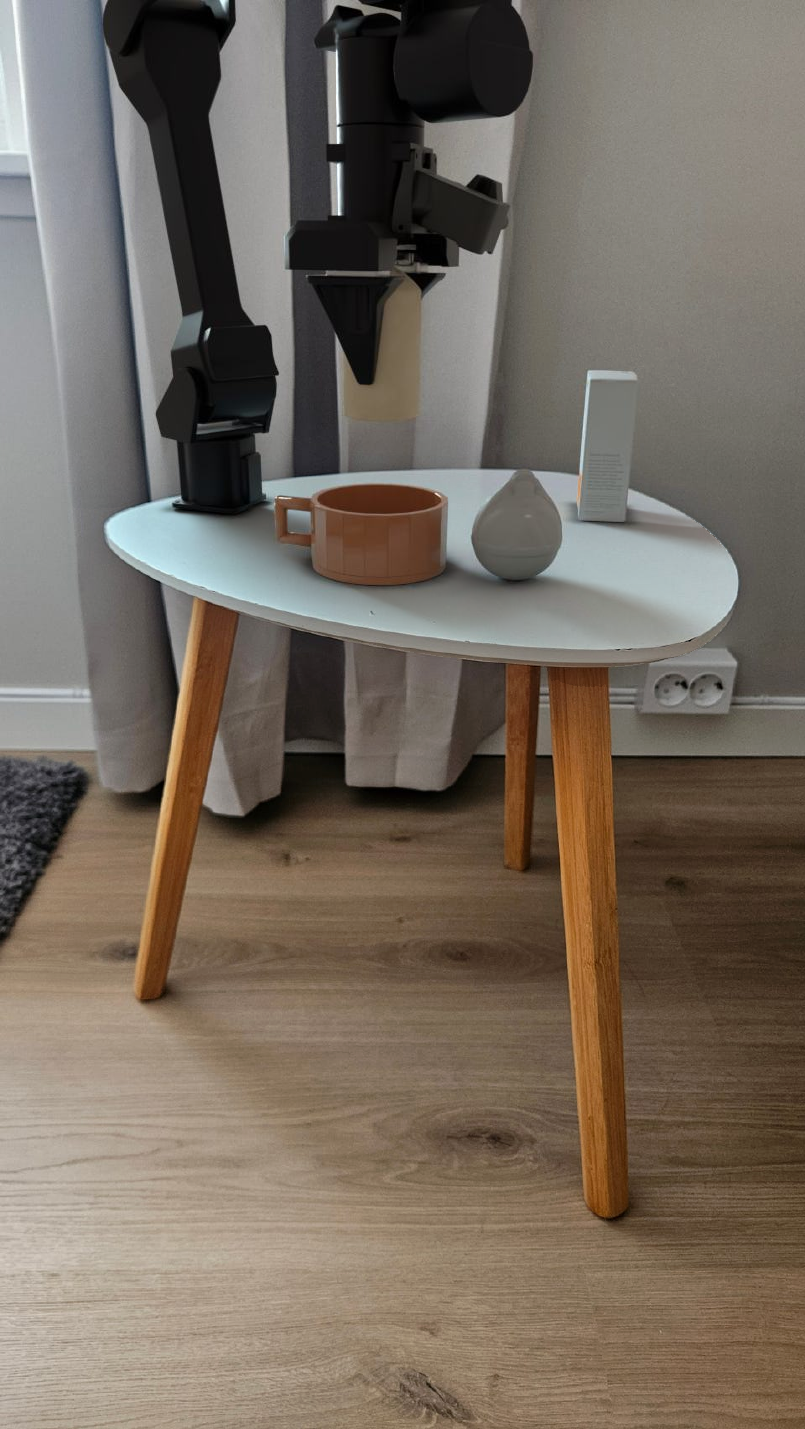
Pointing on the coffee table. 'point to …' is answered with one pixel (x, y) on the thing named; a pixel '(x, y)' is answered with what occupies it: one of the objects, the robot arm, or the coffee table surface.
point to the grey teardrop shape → (517, 529)
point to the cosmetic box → (607, 445)
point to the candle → (391, 362)
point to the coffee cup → (371, 532)
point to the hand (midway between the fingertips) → (380, 380)
